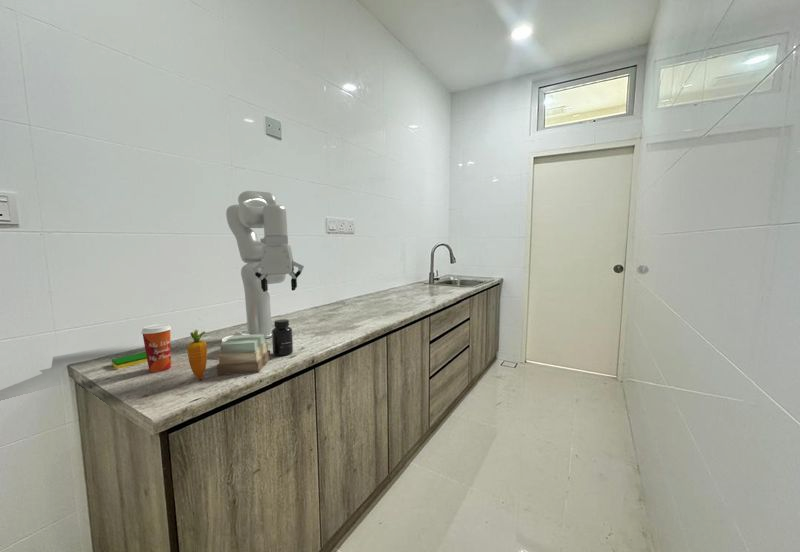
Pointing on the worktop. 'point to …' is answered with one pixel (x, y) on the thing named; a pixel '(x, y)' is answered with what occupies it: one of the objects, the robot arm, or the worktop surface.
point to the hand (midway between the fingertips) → (279, 290)
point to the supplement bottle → (282, 338)
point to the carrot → (197, 355)
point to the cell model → (232, 335)
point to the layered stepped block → (243, 354)
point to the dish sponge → (129, 360)
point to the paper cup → (157, 346)
